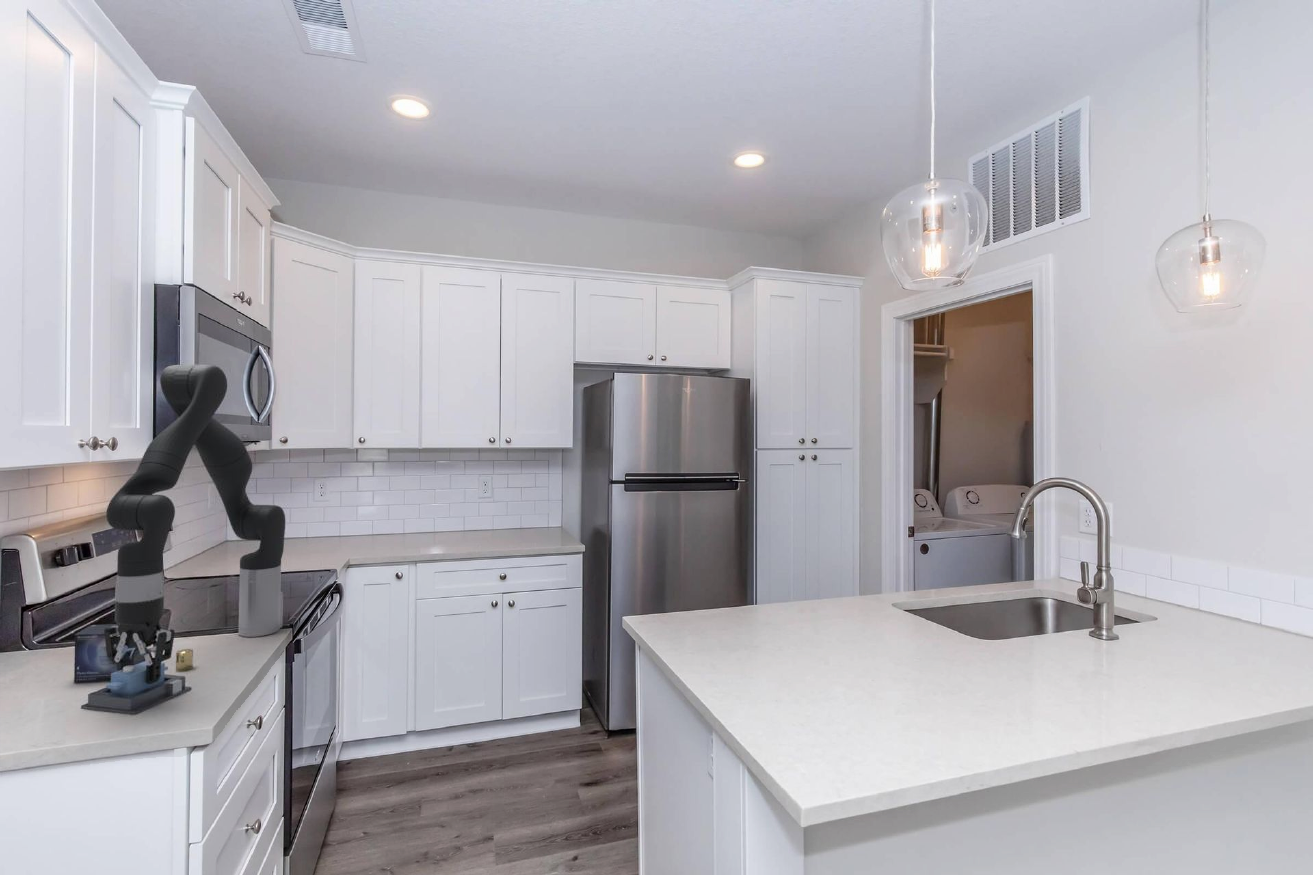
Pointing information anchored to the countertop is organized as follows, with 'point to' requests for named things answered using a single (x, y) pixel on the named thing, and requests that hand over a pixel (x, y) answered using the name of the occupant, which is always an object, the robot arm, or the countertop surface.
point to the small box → (96, 655)
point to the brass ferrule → (184, 660)
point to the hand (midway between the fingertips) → (138, 680)
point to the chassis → (137, 697)
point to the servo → (132, 679)
